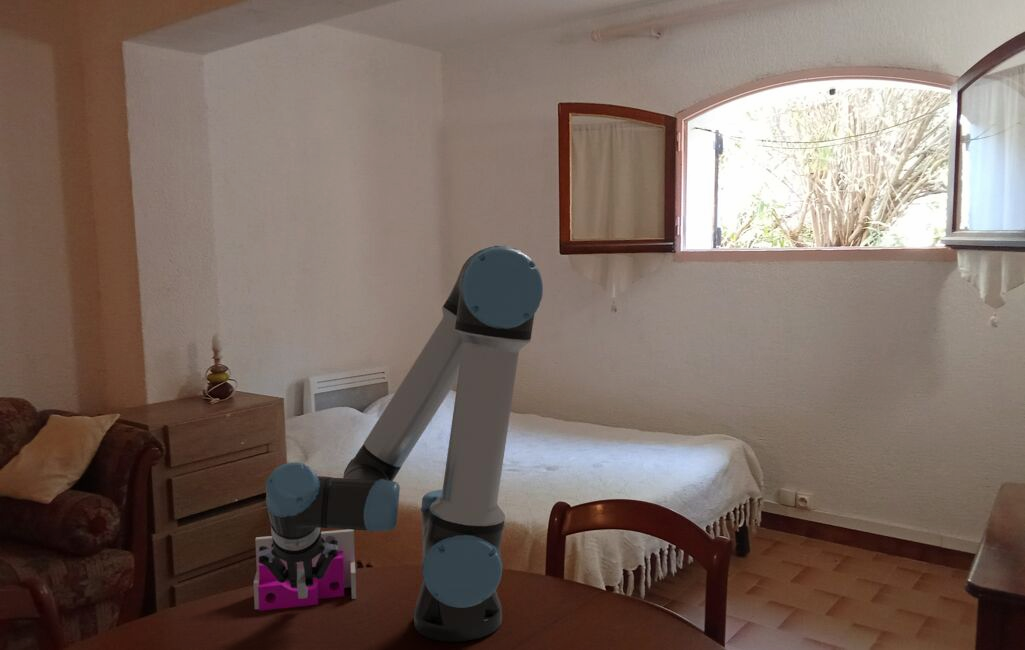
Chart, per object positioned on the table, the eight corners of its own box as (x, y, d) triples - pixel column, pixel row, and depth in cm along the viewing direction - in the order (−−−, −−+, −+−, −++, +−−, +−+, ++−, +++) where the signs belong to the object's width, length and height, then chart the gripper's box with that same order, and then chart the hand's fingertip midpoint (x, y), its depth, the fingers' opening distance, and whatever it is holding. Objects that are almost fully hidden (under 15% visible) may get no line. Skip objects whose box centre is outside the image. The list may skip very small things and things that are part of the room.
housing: (356, 598, 145) (354, 541, 144) (254, 609, 141) (252, 550, 141) (355, 584, 152) (353, 528, 151) (258, 594, 148) (256, 537, 147)
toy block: (259, 611, 141) (257, 570, 140) (262, 597, 147) (260, 558, 147) (344, 602, 144) (342, 562, 144) (343, 588, 150) (342, 550, 150)
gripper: (252, 556, 120) (264, 615, 138) (339, 549, 123) (340, 607, 141) (254, 512, 125) (266, 574, 143) (338, 506, 128) (339, 568, 146)
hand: (303, 590), depth 142 cm, fingers closed
